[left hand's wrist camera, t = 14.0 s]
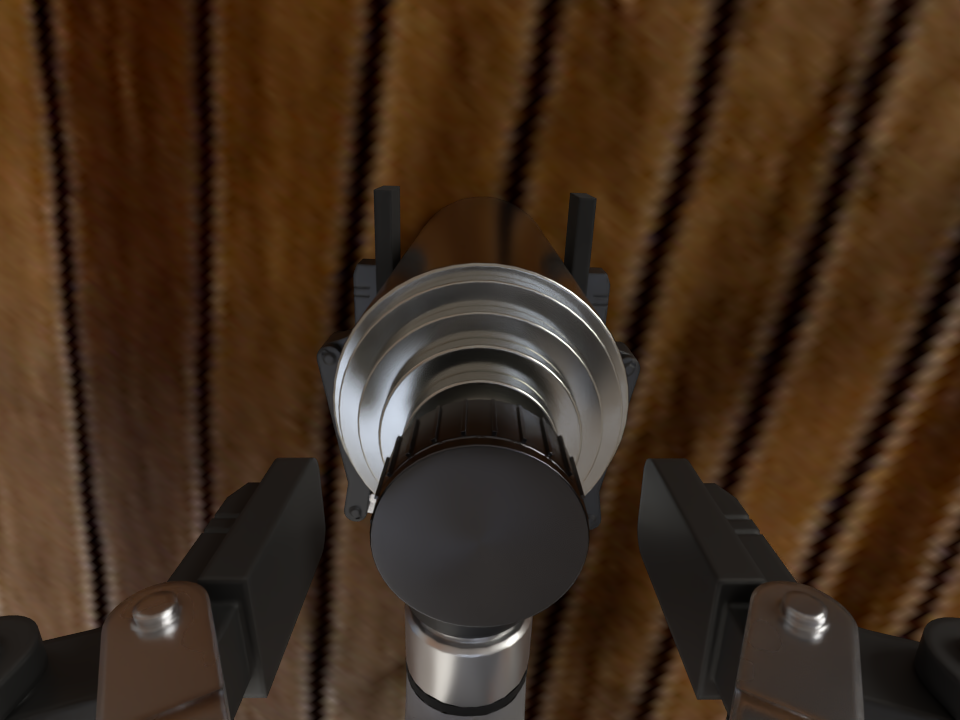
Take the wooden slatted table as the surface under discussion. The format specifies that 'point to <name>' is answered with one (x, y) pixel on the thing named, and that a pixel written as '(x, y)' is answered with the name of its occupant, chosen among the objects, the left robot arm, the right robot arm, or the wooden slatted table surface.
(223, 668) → the left robot arm
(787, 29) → the wooden slatted table surface
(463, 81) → the wooden slatted table surface
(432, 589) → the cap
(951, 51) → the wooden slatted table surface
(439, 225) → the bottle
